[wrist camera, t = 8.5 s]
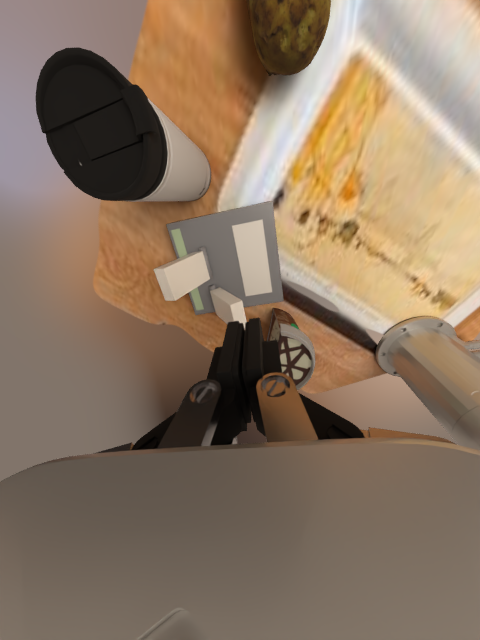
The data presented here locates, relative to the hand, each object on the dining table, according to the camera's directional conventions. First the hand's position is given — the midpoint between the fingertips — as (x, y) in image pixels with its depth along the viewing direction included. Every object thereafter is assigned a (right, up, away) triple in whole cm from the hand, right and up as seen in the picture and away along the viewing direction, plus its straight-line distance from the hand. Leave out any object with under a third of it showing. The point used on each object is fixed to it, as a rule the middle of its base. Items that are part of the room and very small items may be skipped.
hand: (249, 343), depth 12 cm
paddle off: (-4, +4, +21) cm, 22 cm away
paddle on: (-5, +9, +19) cm, 21 cm away
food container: (+8, -1, +28) cm, 29 cm away
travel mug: (-7, +20, +17) cm, 28 cm away
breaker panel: (-2, +10, +22) cm, 24 cm away
